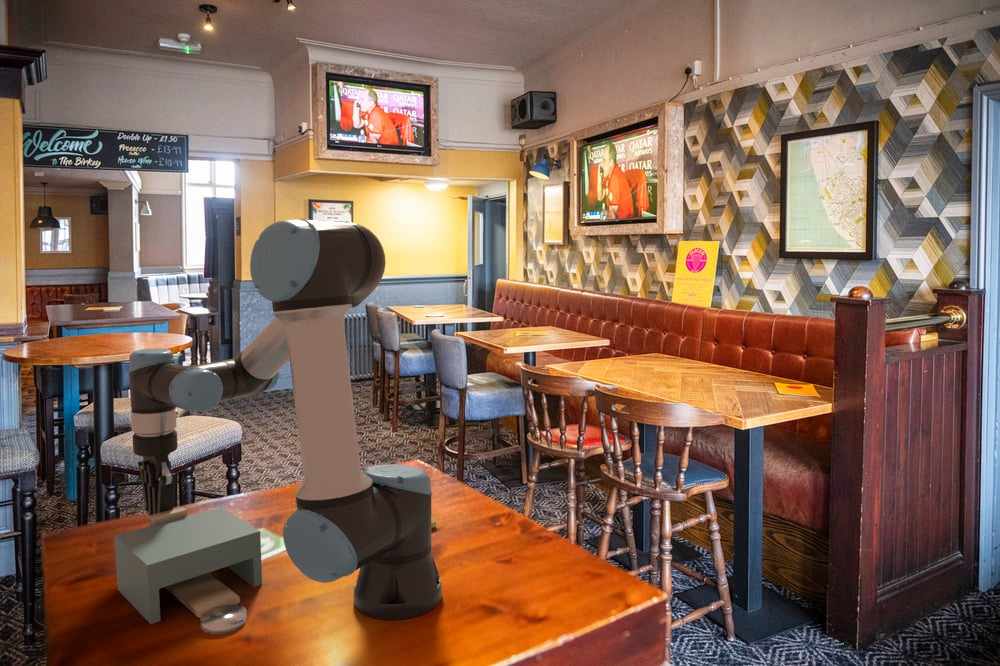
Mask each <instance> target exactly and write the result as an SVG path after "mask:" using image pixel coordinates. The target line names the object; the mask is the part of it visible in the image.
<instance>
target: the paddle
mask: <svg viewBox="0 0 1000 666" xmlns="http://www.w3.org/2000/svg"><path fill="white" fill-rule="evenodd" d="M187 510H188V509H186V508H185V507H184V506H181V507H175V508H173V509H172V510H168V511H164V512H160V513H156V514H152V515H149V514H148V517H149V519H148V520H149V522H148V523H149V526H153V525H156V524H160V523H164V522H168V521H171V520H175V519H179V518H183V517H186V516H188V511H187ZM164 588H165V589H166V590H167V591H168V592H169V593H170V594H172V596H174V598H176V599H177V600H178V601H179V602H180V603H182V604H183V605H184V606H185V607H186V608H187V609H188V610H189V611H190V612H192V614H194V615H195V616H196V618H197V619H199V618H201V616H202V615H203V614H204V613H205V612H206V611H208V610H210V609H212V608H214V607H217V606H221V605H226V604H236V605H239V603H241V596H239V595H238V594H237V593H235V592H234V591H233V590H232V589H230V587H228V586H226V585H225V584H224V583H222V582H221V581H220V580H219V579H218V578H216V577H215V576H214V575H212V574H211V572H208V573H205V574H202V575H199V576H196V577H193V578H190V579H187V580H184V581H181V582H178V583H175V584H172V585H169V586H166V587H164Z"/></svg>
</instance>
